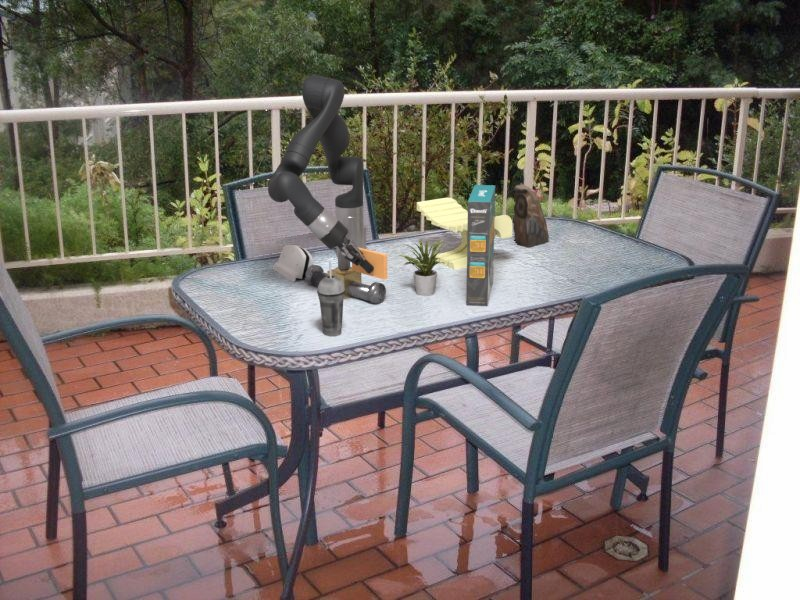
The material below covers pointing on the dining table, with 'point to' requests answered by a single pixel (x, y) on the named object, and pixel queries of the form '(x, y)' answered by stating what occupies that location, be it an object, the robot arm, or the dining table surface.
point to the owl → (528, 218)
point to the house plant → (424, 268)
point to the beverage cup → (331, 303)
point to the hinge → (293, 262)
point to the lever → (372, 257)
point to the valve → (349, 283)
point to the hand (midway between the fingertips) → (371, 270)
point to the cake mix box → (480, 245)
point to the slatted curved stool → (457, 227)
